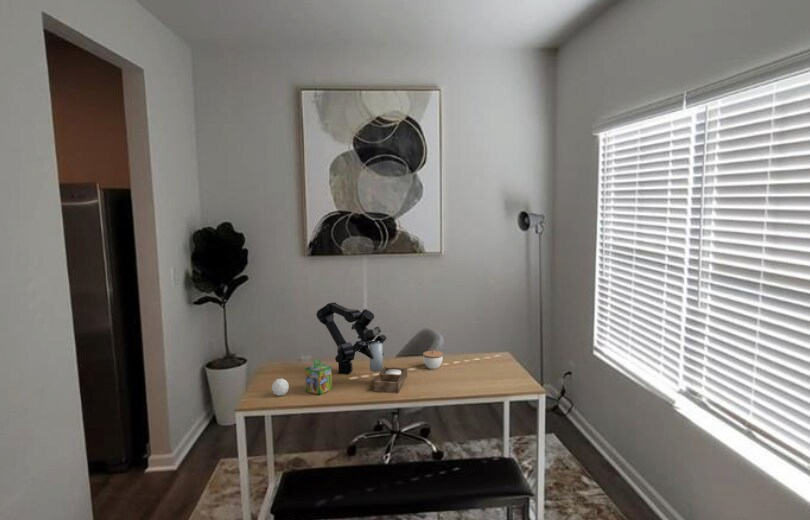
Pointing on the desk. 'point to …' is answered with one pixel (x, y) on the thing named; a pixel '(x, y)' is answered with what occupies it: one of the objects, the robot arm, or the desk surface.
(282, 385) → the geometric ball
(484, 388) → the desk surface
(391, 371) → the bowl
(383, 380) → the brown wooden tray
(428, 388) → the desk surface
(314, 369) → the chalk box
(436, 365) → the lidded jar
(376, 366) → the pale blue cylinder
